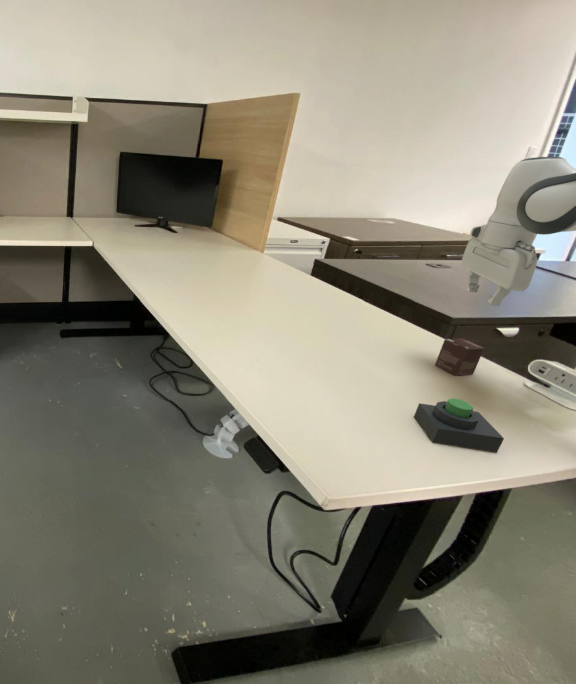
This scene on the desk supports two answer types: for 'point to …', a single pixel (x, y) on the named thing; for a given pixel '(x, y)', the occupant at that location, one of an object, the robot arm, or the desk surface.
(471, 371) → the box
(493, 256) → the robot arm
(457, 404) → the green button cap
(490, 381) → the desk surface
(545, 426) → the desk surface
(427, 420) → the button base
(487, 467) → the desk surface
